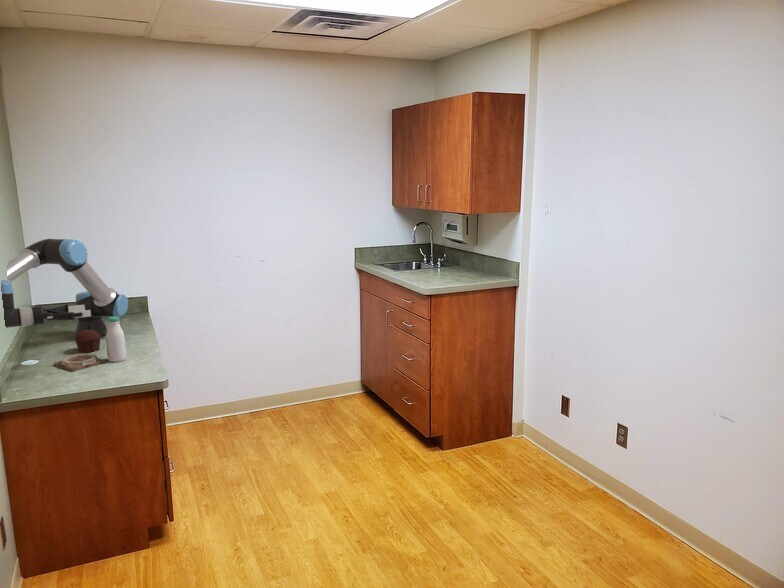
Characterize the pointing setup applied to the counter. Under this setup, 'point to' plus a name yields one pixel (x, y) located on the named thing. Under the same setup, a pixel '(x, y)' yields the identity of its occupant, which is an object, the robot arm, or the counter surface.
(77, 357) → the ring stand
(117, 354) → the milk bottle
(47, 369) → the counter surface
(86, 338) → the muffin
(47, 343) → the counter surface
